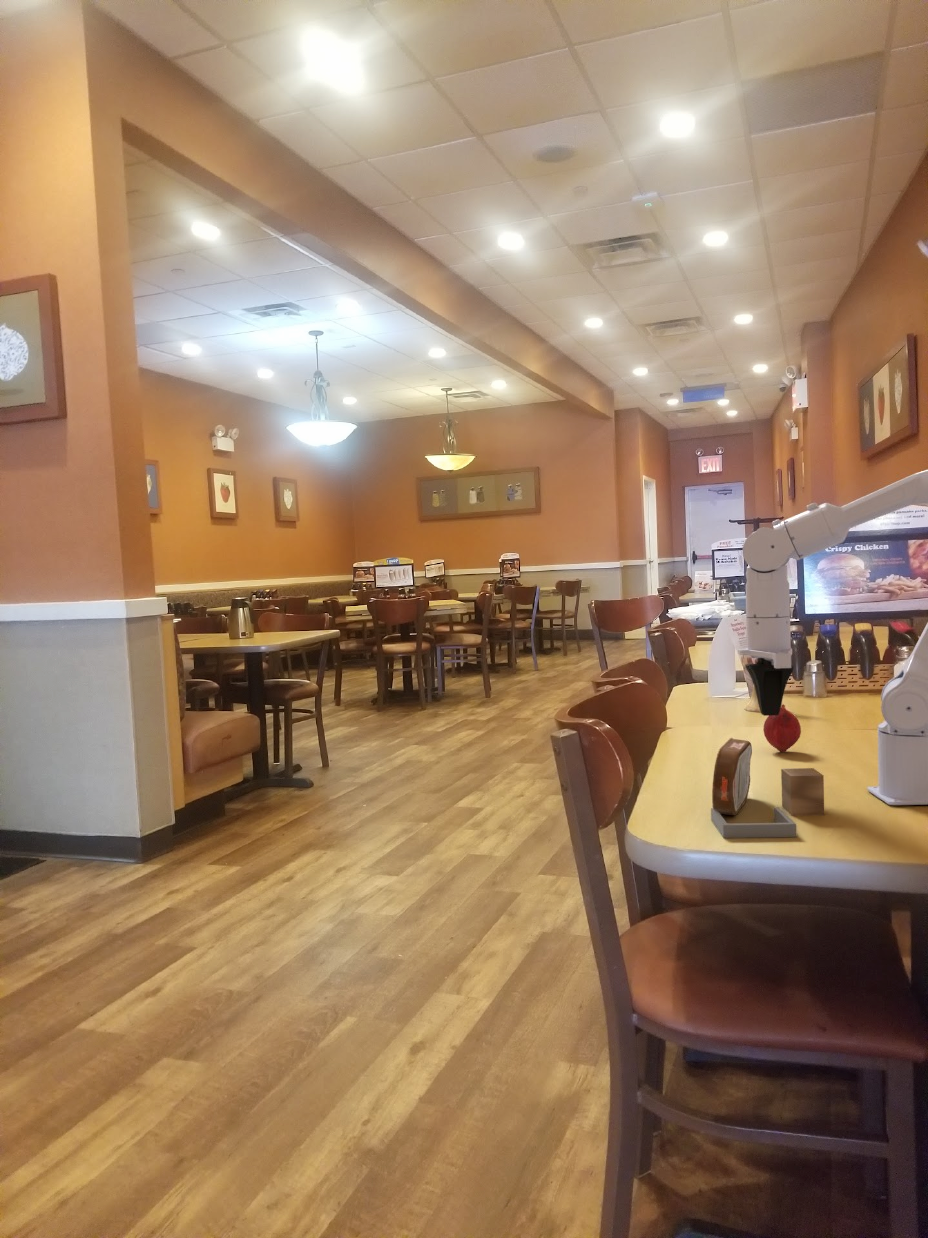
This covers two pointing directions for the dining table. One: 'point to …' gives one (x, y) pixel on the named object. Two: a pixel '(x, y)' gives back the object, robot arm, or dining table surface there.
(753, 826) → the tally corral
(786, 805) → the walnut block
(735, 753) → the tin
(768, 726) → the onion
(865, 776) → the dining table surface
